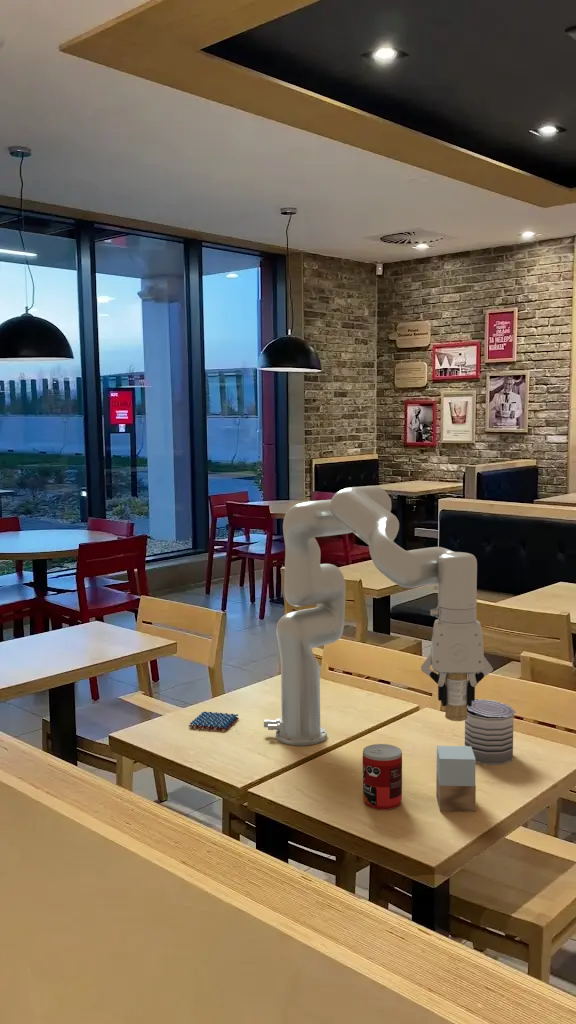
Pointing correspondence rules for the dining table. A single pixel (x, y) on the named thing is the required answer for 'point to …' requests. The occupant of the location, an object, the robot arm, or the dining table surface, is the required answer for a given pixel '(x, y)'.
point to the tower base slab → (455, 798)
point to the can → (490, 731)
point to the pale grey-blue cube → (456, 766)
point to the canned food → (382, 776)
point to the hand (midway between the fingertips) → (456, 703)
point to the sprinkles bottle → (456, 696)
